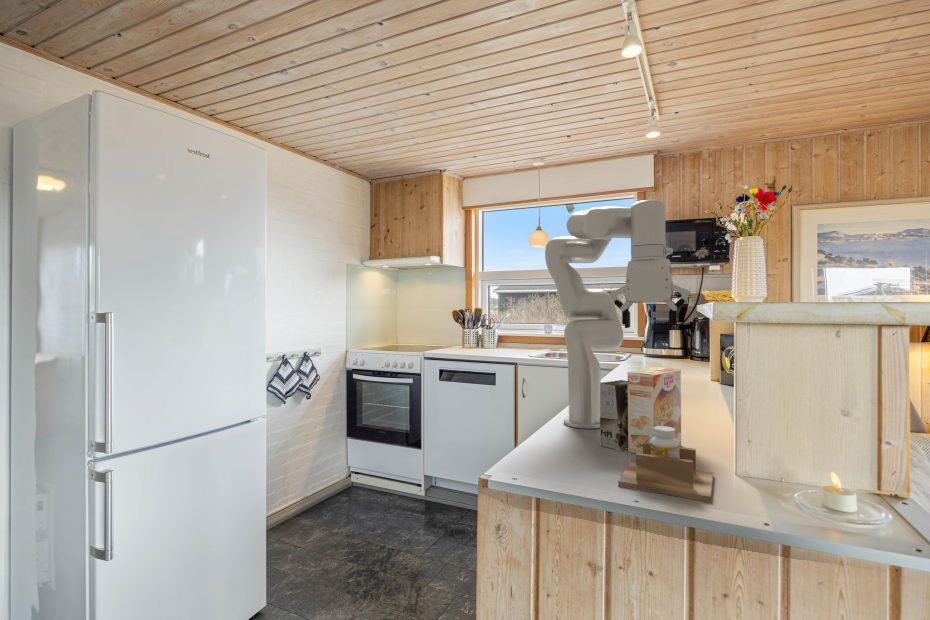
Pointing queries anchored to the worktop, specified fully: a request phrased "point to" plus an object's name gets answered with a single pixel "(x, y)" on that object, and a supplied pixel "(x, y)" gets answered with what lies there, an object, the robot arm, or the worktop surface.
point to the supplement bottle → (665, 442)
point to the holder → (668, 475)
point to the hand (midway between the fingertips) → (649, 328)
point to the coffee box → (614, 414)
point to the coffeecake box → (653, 404)
